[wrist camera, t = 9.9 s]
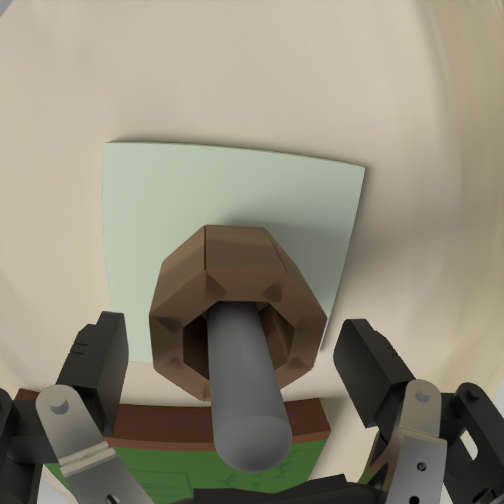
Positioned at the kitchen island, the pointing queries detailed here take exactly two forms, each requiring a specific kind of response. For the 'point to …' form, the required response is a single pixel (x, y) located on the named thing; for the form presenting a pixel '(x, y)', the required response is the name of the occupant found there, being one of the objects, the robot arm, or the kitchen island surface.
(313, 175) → the post
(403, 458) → the robot arm
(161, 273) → the ring
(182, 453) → the hardcover book
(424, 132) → the kitchen island surface
